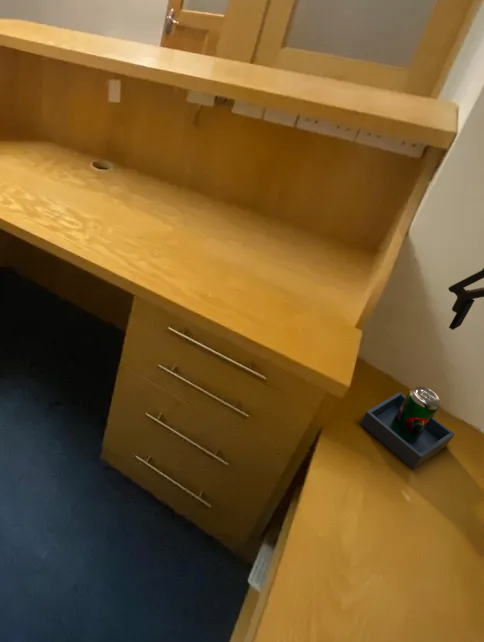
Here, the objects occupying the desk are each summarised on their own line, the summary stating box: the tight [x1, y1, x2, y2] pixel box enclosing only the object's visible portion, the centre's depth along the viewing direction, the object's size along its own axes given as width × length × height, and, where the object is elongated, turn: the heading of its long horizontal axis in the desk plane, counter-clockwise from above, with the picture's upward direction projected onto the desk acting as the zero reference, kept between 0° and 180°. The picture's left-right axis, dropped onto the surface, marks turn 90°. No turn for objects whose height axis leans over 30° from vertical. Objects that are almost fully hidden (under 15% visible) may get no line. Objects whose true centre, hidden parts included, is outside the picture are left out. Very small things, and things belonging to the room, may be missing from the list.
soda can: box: [390, 386, 441, 442], centre depth 102 cm, size 5×5×12 cm
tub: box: [359, 391, 456, 470], centre depth 105 cm, size 11×11×4 cm
